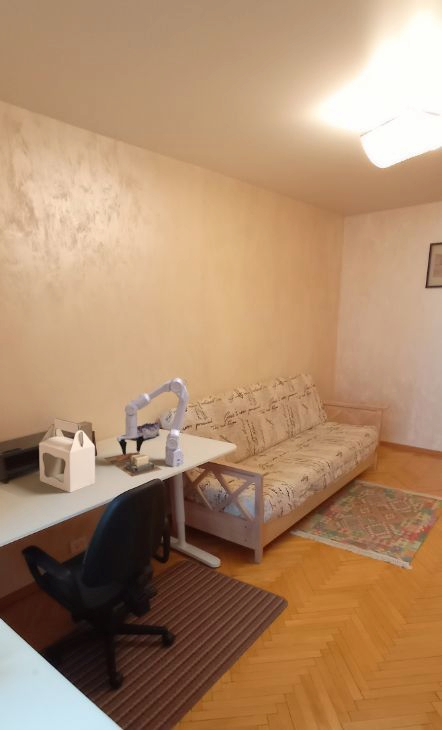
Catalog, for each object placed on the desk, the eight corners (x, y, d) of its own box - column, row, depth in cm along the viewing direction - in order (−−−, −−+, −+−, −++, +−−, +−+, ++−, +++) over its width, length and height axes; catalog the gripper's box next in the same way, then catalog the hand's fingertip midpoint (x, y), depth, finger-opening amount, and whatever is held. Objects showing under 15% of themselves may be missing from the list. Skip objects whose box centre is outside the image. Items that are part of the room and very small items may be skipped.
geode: (149, 432, 272) (151, 418, 270) (163, 438, 265) (165, 423, 264) (126, 438, 255) (128, 422, 253) (140, 444, 249) (142, 428, 247)
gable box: (95, 483, 186) (95, 421, 183) (70, 493, 175) (69, 427, 172) (64, 472, 198) (63, 414, 195) (39, 481, 187) (37, 420, 184)
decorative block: (75, 466, 206) (74, 427, 204) (68, 464, 209) (67, 425, 207) (93, 460, 215) (92, 422, 213) (85, 458, 219) (85, 421, 216)
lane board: (162, 471, 202) (162, 464, 202) (131, 478, 192) (131, 471, 192) (131, 454, 227) (131, 447, 226) (103, 459, 217) (103, 453, 216)
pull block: (153, 467, 204) (153, 455, 203) (131, 472, 197) (131, 460, 196) (138, 458, 217) (138, 447, 216) (116, 463, 209) (116, 451, 209)
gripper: (140, 422, 215) (140, 448, 217) (114, 426, 206) (114, 453, 208) (147, 425, 210) (147, 451, 211) (120, 429, 201) (120, 457, 202)
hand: (131, 452), depth 209 cm, fingers open, 7 cm apart
